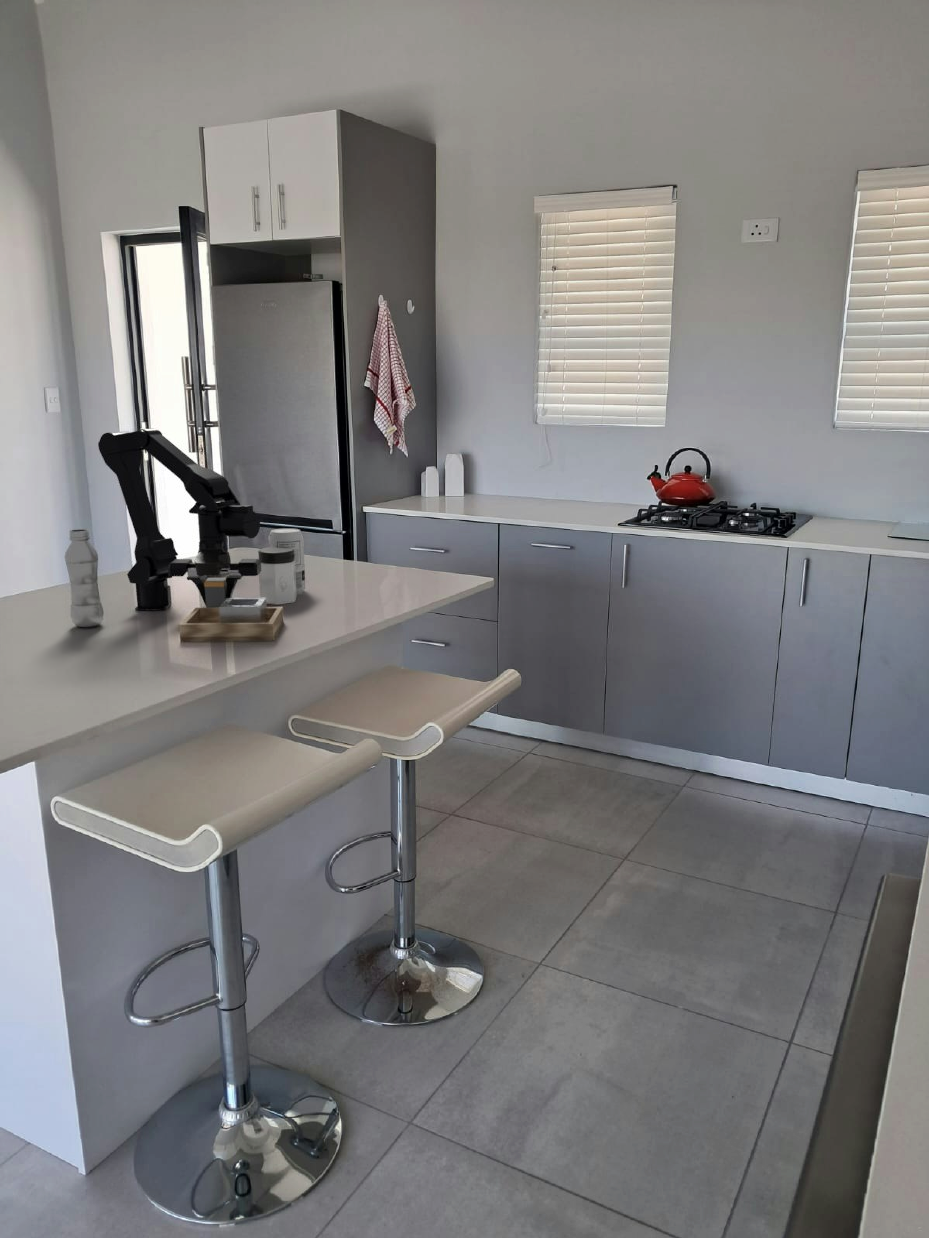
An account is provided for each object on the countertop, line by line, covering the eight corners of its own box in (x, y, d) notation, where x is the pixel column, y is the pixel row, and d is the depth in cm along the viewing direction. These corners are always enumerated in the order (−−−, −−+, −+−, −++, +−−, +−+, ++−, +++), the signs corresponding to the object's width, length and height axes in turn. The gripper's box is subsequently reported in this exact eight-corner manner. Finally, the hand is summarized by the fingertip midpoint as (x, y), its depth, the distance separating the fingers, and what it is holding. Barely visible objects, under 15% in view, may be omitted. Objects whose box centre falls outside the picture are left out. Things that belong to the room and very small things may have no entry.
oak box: (180, 641, 180) (179, 624, 180) (196, 623, 194) (195, 607, 193) (273, 641, 181) (272, 623, 181) (283, 623, 195) (282, 606, 194)
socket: (221, 636, 185) (219, 606, 183) (228, 626, 192) (227, 597, 191) (261, 635, 185) (259, 606, 184) (267, 625, 193) (266, 597, 191)
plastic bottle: (73, 631, 188) (63, 533, 183) (70, 624, 193) (60, 529, 188) (107, 628, 191) (97, 531, 186) (102, 620, 196) (93, 527, 191)
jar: (267, 606, 209) (264, 554, 206) (253, 599, 216) (251, 548, 213) (303, 601, 214) (301, 550, 211) (289, 595, 221) (287, 545, 218)
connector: (206, 618, 199) (204, 581, 197) (210, 613, 203) (208, 577, 201) (225, 618, 199) (223, 581, 197) (229, 613, 203) (227, 577, 201)
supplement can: (264, 594, 222) (261, 532, 218) (283, 587, 229) (280, 527, 225) (293, 597, 219) (290, 534, 215) (311, 590, 226) (309, 529, 222)
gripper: (158, 541, 188) (164, 616, 192) (251, 541, 189) (254, 615, 193) (172, 533, 199) (177, 603, 203) (259, 532, 200) (263, 603, 204)
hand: (217, 606), depth 200 cm, fingers closed on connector, 4 cm apart
